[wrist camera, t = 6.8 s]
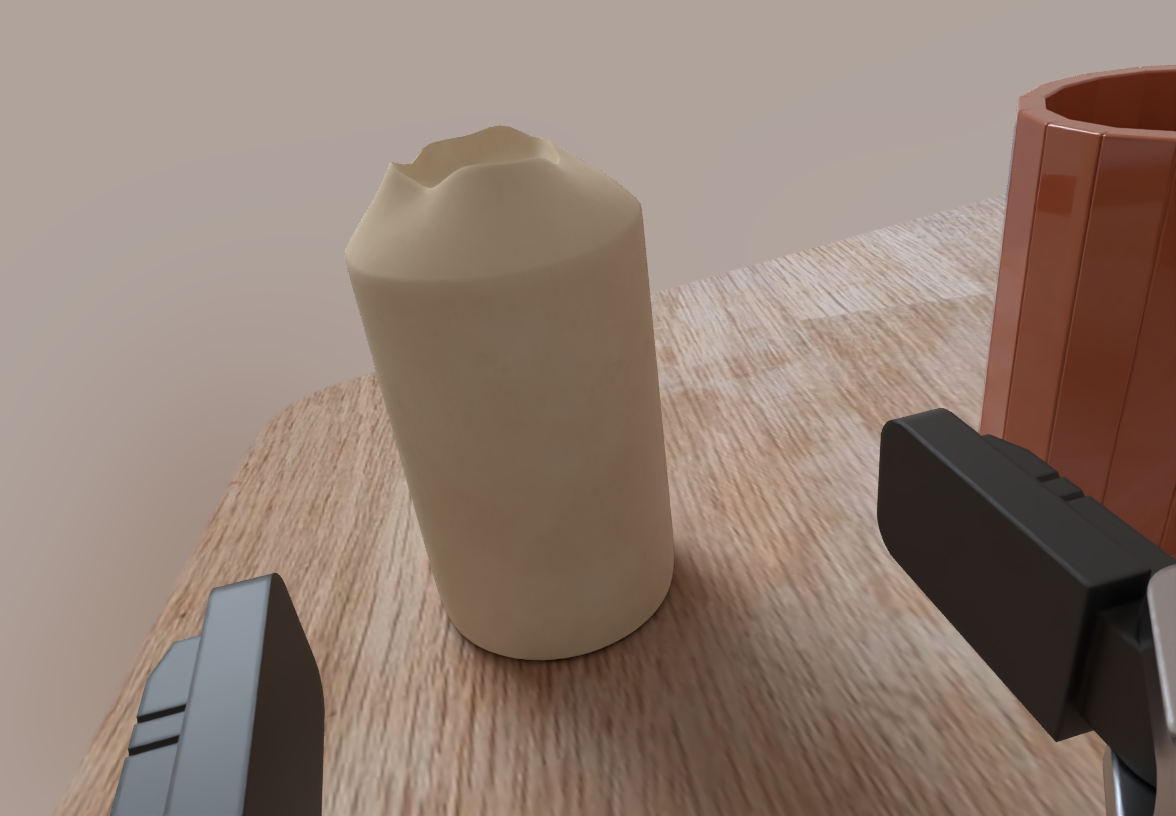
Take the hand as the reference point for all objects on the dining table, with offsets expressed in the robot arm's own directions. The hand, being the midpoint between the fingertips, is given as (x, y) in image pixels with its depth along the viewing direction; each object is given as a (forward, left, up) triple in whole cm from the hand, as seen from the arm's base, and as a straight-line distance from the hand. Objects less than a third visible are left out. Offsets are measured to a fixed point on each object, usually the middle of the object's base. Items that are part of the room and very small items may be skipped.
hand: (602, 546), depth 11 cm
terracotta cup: (+11, +8, -6) cm, 15 cm away
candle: (-2, +7, -6) cm, 9 cm away
